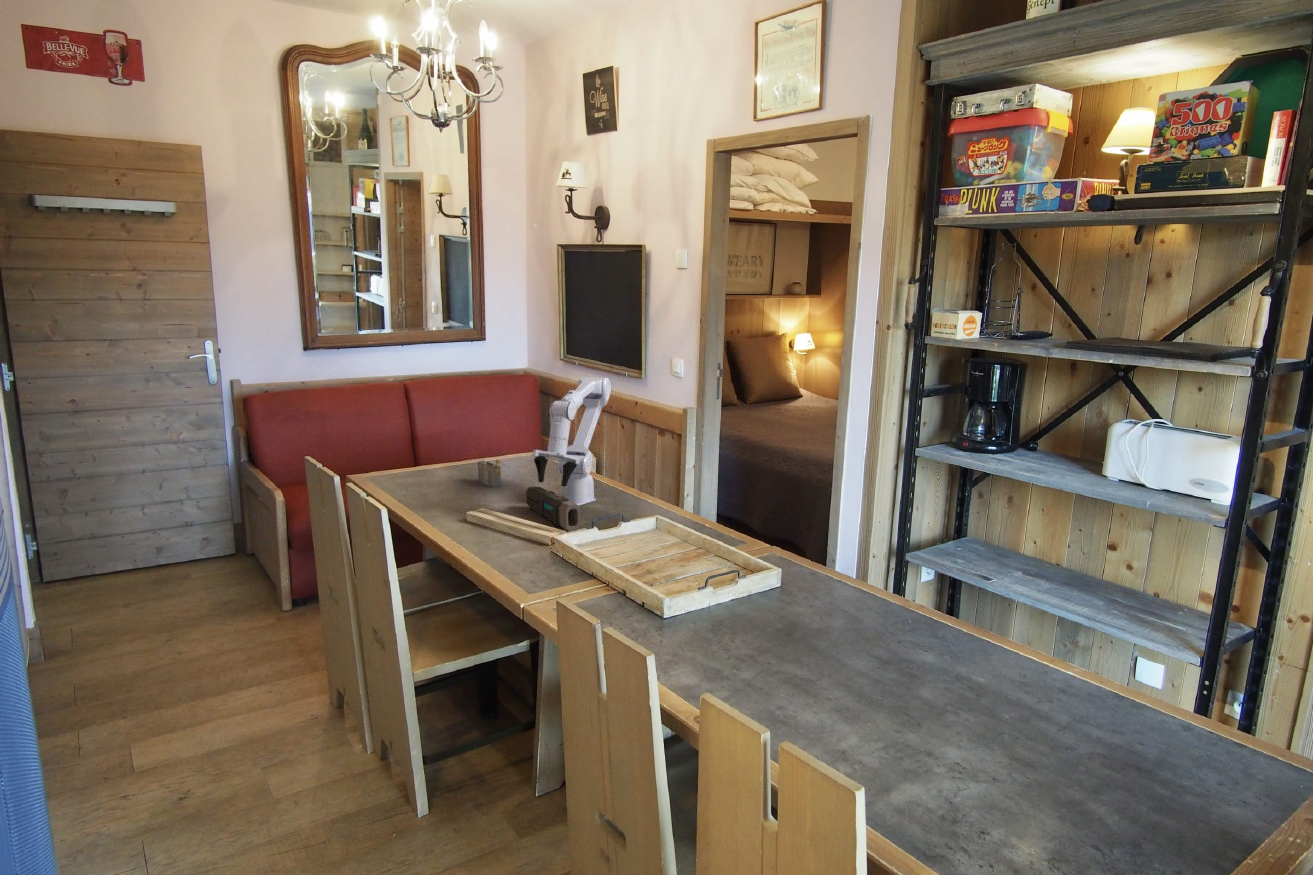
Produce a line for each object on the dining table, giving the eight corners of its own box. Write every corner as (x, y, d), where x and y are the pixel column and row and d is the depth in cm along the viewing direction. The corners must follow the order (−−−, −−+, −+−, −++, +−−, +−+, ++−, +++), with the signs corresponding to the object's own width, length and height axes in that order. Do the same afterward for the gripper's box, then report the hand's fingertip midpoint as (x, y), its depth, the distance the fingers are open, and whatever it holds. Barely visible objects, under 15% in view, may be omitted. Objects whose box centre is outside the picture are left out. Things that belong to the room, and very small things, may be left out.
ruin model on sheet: (502, 487, 281) (501, 460, 279) (494, 489, 279) (493, 461, 277) (486, 481, 289) (485, 454, 287) (478, 482, 287) (477, 455, 285)
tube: (543, 513, 259) (588, 526, 234) (525, 522, 255) (568, 536, 230) (533, 482, 256) (577, 491, 231) (514, 490, 253) (557, 500, 228)
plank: (482, 515, 247) (482, 507, 246) (566, 539, 225) (565, 530, 224) (466, 520, 242) (466, 512, 242) (550, 545, 220) (550, 536, 220)
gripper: (541, 434, 239) (535, 479, 237) (585, 443, 246) (579, 487, 244) (532, 436, 245) (526, 480, 243) (575, 444, 252) (569, 488, 250)
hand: (552, 484), depth 244 cm, fingers open, 7 cm apart
